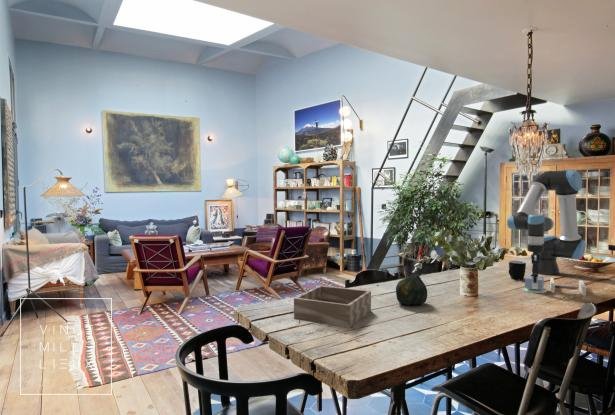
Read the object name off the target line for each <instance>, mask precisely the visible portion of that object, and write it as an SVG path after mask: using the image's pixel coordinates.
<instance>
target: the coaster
mask: <svg viewBox="0 0 615 415" xmlns="http://www.w3.org/2000/svg"><path fill="white" fill-rule="evenodd" d="M522 290H523V291H524V292H527V293H533V294H545V293H547V292H548V290H547V289H545V288H543V289H542V290H539V289H531V288H525V286H524V287H523V289H522Z"/></svg>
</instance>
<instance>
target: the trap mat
mask: <svg viewBox="0 0 615 415" xmlns="http://www.w3.org/2000/svg"><path fill="white" fill-rule="evenodd" d="M557 288H558V289H568V290H578V289H579V287H577V286H571V285H570V286H569V285H568V286H567V285H558V284H555V289H557Z"/></svg>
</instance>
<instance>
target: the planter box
mask: <svg viewBox="0 0 615 415" xmlns="http://www.w3.org/2000/svg"><path fill="white" fill-rule="evenodd" d="M371 311H372V291H371V290H362V289H354V288H345V287H336V286H327V285H318V286H317V287H314V288H312V289H311V290H308V291H305V292H304V293H301V294H300V295H298V296H296V297H294V298H293V319H294V320H297V321H304V322H309V323H316V324H323V325H329V326H334V327H335V326H336V327H343V328H347V329H350V328H352V327H353V326H354V325H355V324H356V323H358V322H359V321H360V320H362V319H363V318H364V317H365V316H367V315H368V314H369V313H370V312H371Z"/></svg>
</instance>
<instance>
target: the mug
mask: <svg viewBox="0 0 615 415" xmlns="http://www.w3.org/2000/svg"><path fill="white" fill-rule="evenodd" d="M526 264H527V263H526V261H523V260H509V261H508V274H509V276H510V278H511V280H515V281H522V280H525V274H526V269H527V268H526V266H527V265H526Z"/></svg>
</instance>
